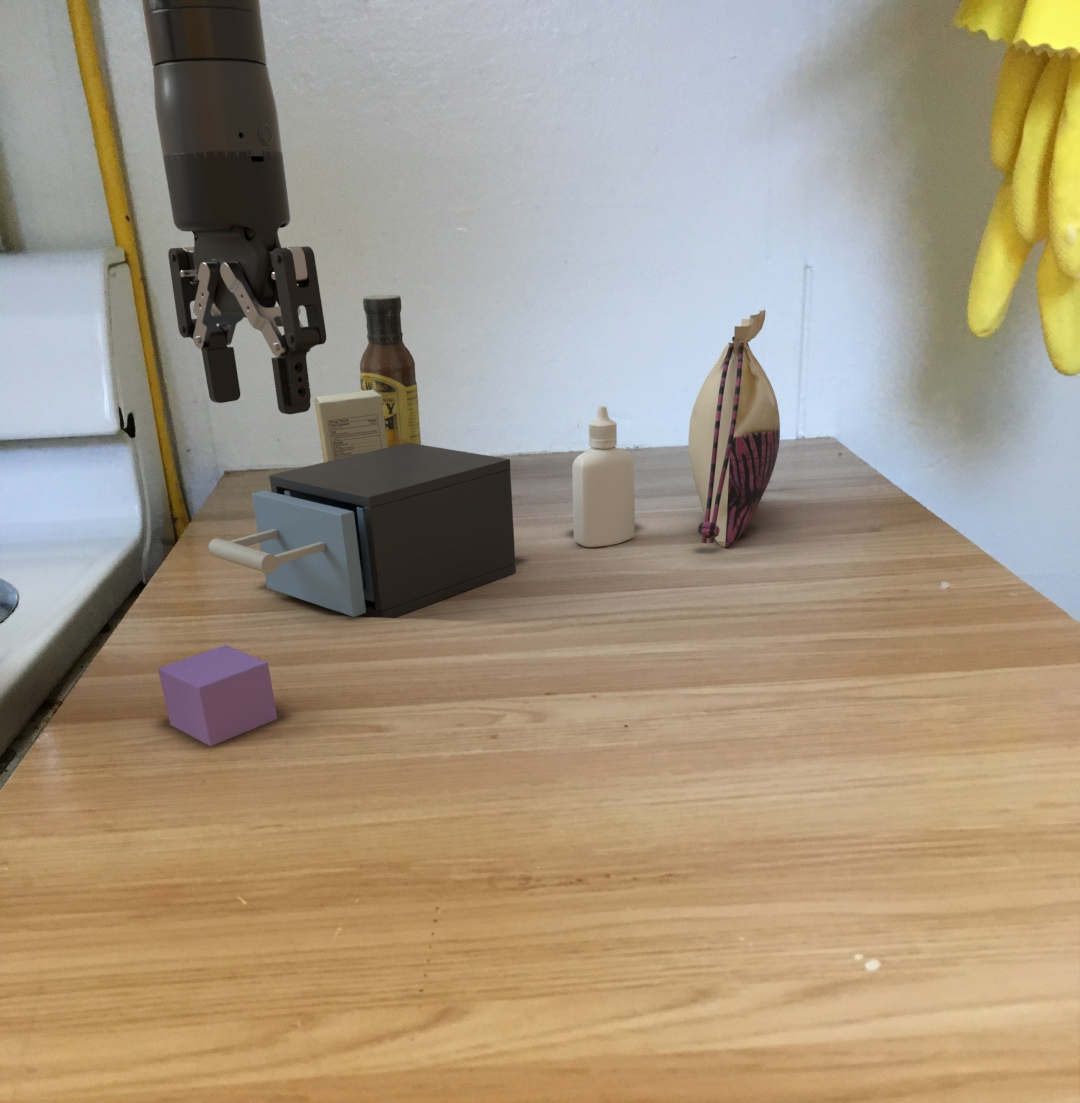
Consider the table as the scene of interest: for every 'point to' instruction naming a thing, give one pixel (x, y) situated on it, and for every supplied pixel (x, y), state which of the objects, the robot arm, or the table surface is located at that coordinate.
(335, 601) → the blue drawer
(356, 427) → the cosmetic box
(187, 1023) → the table surface
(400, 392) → the sauce bottle
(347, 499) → the drawer cabinet
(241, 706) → the block
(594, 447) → the eye dropper bottle
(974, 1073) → the table surface
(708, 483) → the pouch
